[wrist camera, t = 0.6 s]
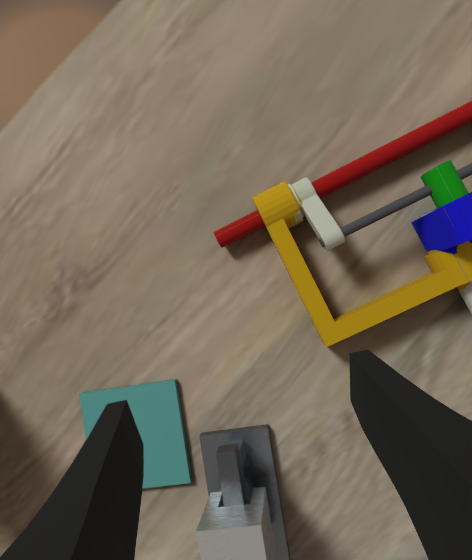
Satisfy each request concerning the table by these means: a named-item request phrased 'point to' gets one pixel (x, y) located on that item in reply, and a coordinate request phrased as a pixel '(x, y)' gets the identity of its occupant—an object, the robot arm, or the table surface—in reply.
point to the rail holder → (245, 473)
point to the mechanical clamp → (430, 226)
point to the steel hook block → (236, 529)
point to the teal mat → (149, 427)
